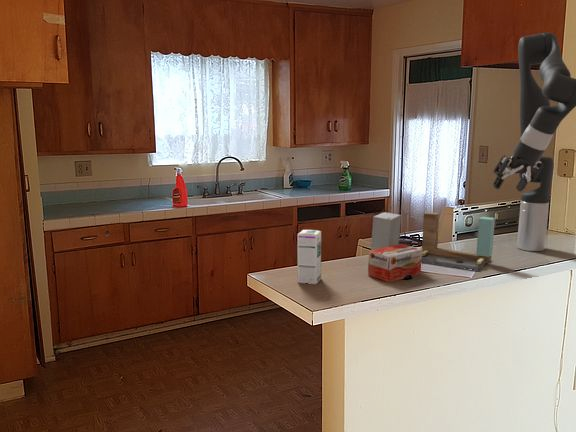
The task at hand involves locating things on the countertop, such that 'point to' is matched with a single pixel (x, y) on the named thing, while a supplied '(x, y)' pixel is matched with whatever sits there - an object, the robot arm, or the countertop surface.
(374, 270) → the medicine box
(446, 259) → the flange plate
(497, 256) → the countertop surface
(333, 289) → the countertop surface
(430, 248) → the wooden l-shaped stand
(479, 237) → the block
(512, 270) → the countertop surface
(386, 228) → the skincare box
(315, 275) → the syrup box
